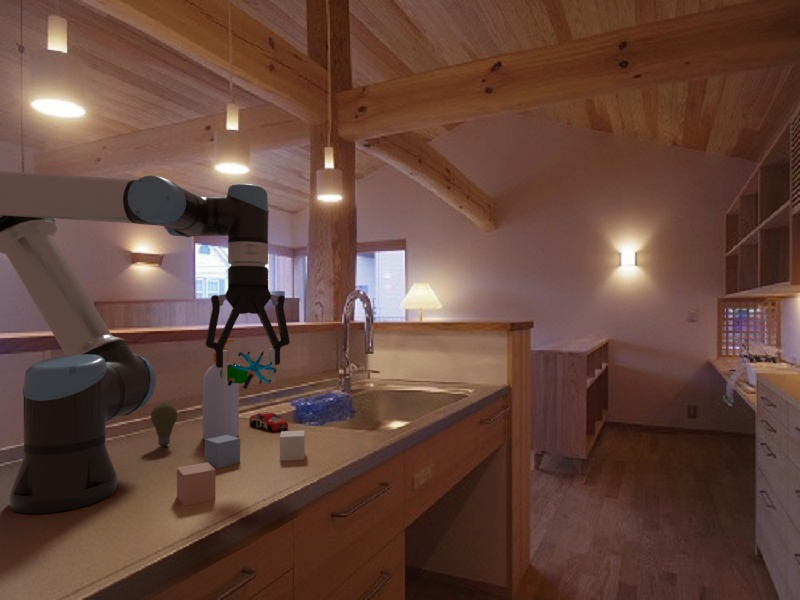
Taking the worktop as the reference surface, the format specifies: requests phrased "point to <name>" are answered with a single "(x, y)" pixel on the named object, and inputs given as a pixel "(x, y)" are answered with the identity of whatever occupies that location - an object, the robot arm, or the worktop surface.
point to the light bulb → (164, 422)
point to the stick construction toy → (247, 371)
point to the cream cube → (292, 445)
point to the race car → (268, 422)
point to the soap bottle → (219, 404)
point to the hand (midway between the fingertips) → (248, 383)
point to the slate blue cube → (222, 451)
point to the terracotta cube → (195, 483)
